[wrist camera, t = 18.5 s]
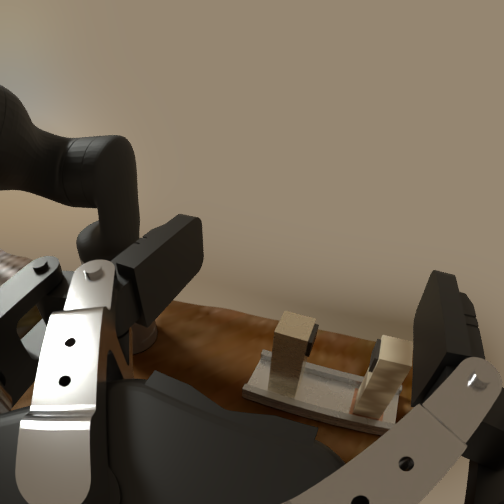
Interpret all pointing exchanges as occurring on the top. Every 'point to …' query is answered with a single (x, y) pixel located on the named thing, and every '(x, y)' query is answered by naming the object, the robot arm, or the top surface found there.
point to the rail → (310, 381)
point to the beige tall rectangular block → (383, 375)
